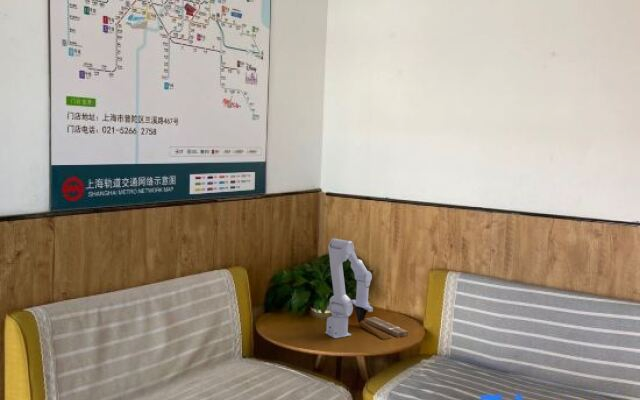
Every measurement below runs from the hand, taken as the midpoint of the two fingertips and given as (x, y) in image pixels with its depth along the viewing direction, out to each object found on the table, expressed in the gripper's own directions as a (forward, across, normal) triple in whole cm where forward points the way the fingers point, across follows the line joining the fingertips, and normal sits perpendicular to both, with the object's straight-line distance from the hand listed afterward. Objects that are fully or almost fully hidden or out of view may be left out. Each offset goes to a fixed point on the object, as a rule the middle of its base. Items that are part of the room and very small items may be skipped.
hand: (360, 322), depth 276 cm
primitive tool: (+2, -11, 0) cm, 11 cm away
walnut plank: (+2, -8, -9) cm, 12 cm away
